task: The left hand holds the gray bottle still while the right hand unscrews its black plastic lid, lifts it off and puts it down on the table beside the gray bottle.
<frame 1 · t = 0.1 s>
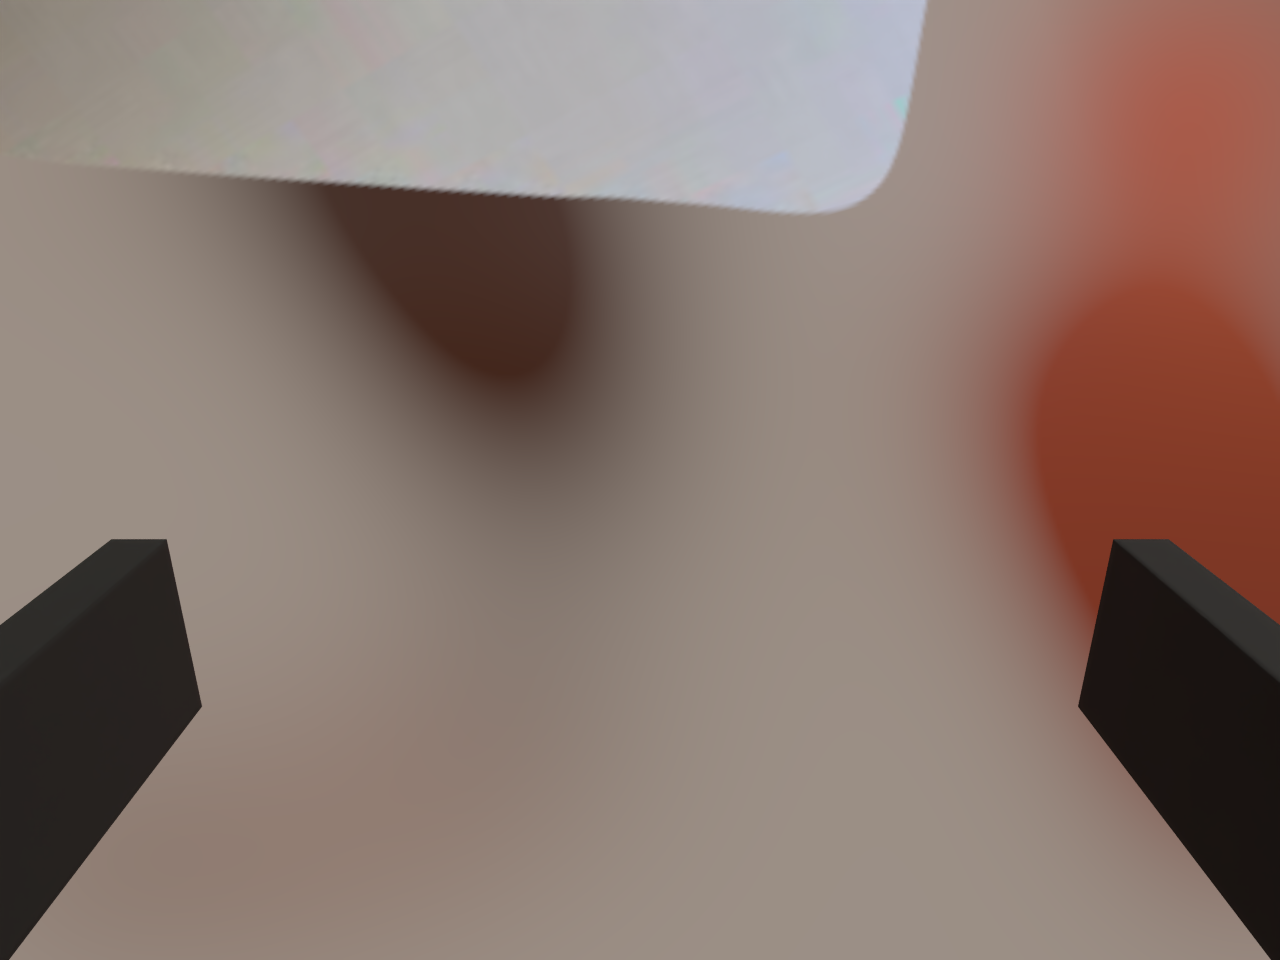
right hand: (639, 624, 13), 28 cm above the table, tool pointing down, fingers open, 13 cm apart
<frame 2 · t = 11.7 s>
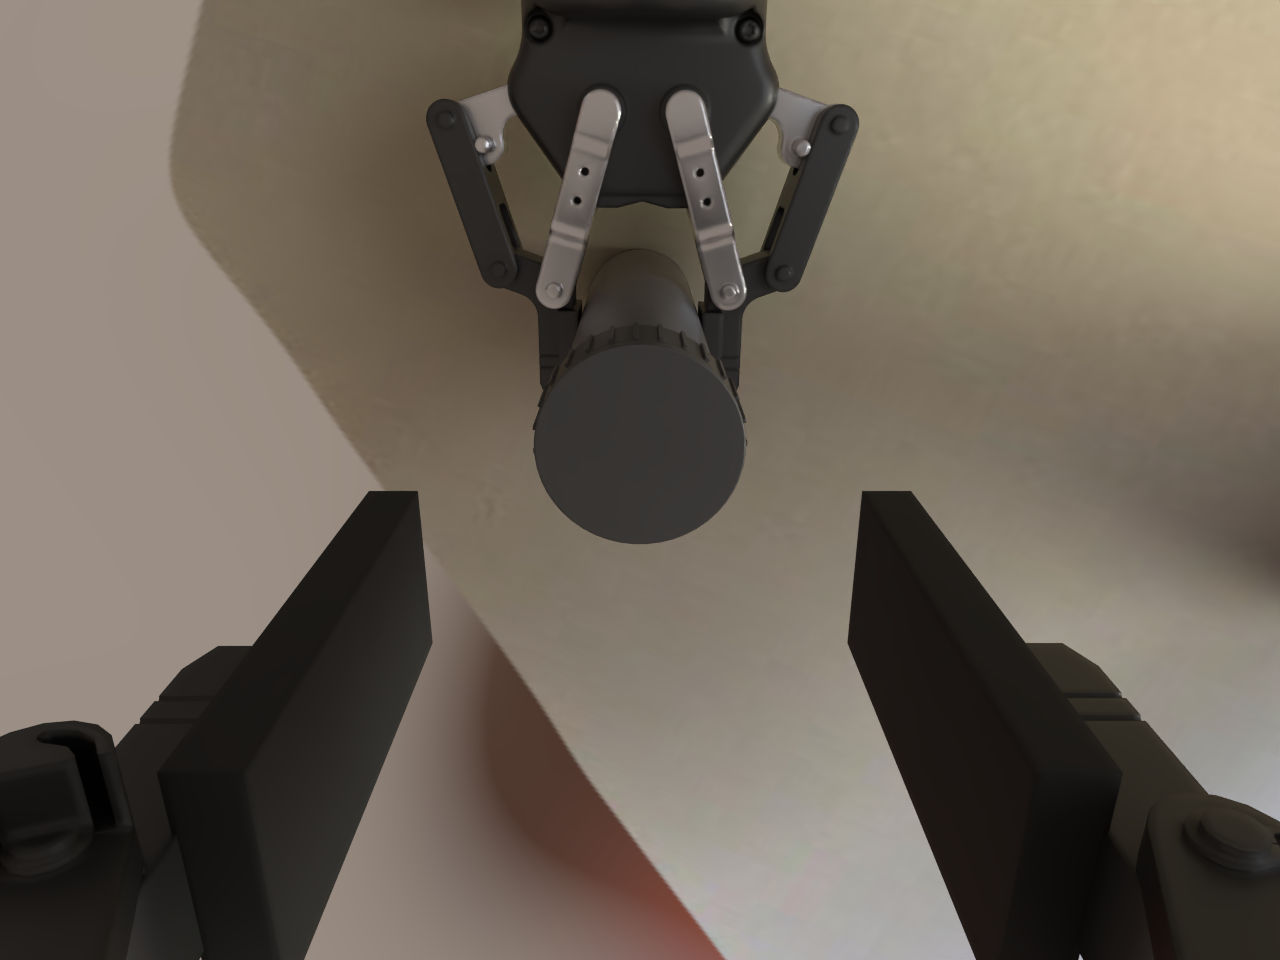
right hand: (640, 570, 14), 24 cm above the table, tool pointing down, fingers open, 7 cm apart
left hand: (640, 406, 32), fingers closed on gray bottle, 4 cm apart
lid: (639, 443, 20), point 18 cm above the table, screwed on, not yet turned
gray bottle: (640, 301, 37), on the table, touching left hand
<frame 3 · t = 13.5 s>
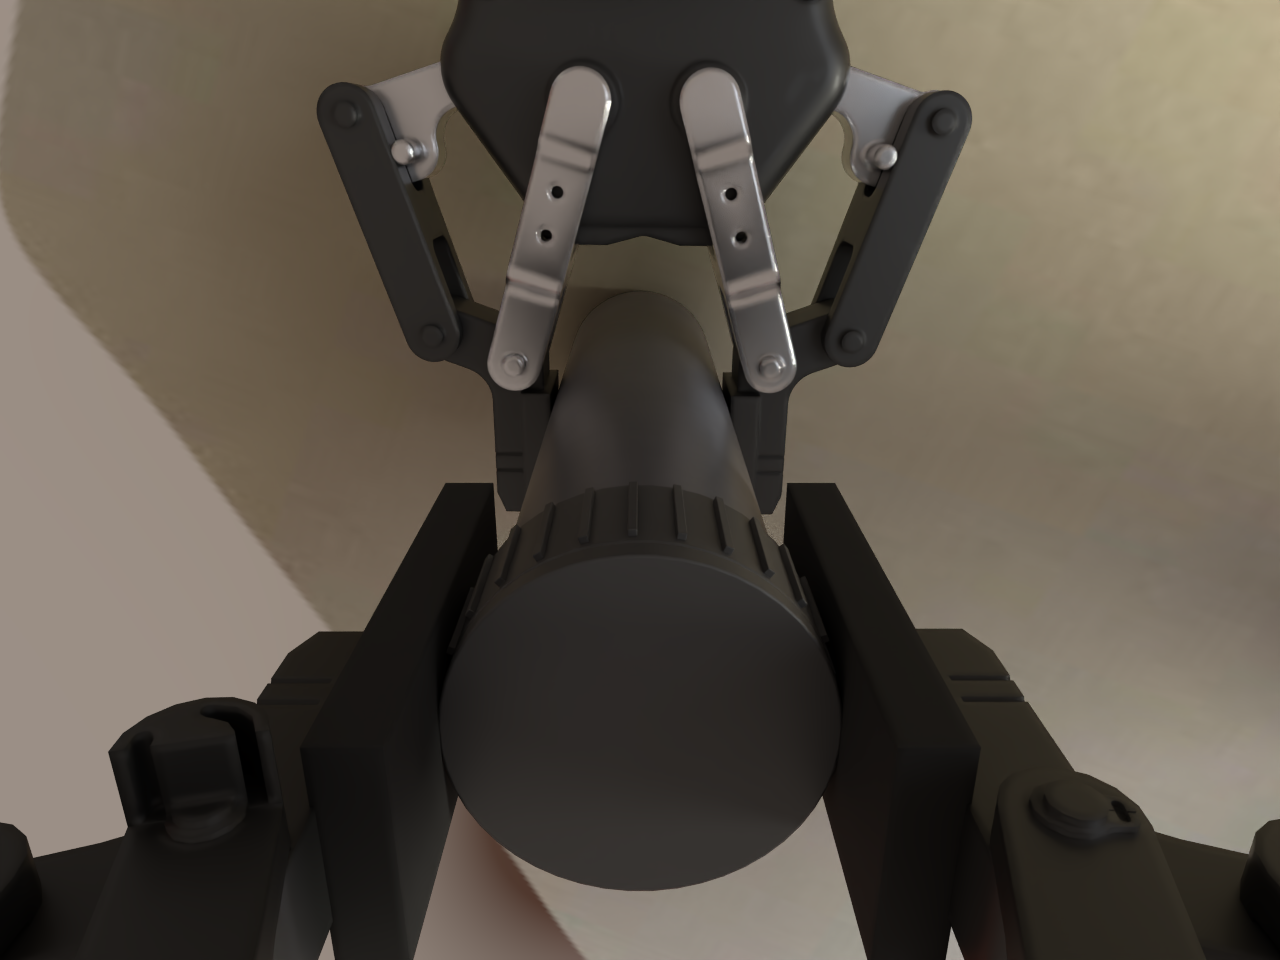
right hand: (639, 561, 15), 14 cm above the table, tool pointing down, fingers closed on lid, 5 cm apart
left hand: (640, 520, 23), fingers closed on gray bottle, 4 cm apart
lid: (640, 719, 11), point 18 cm above the table, screwed on, not yet turned, touching right hand
gray bottle: (640, 359, 27), on the table, touching left hand
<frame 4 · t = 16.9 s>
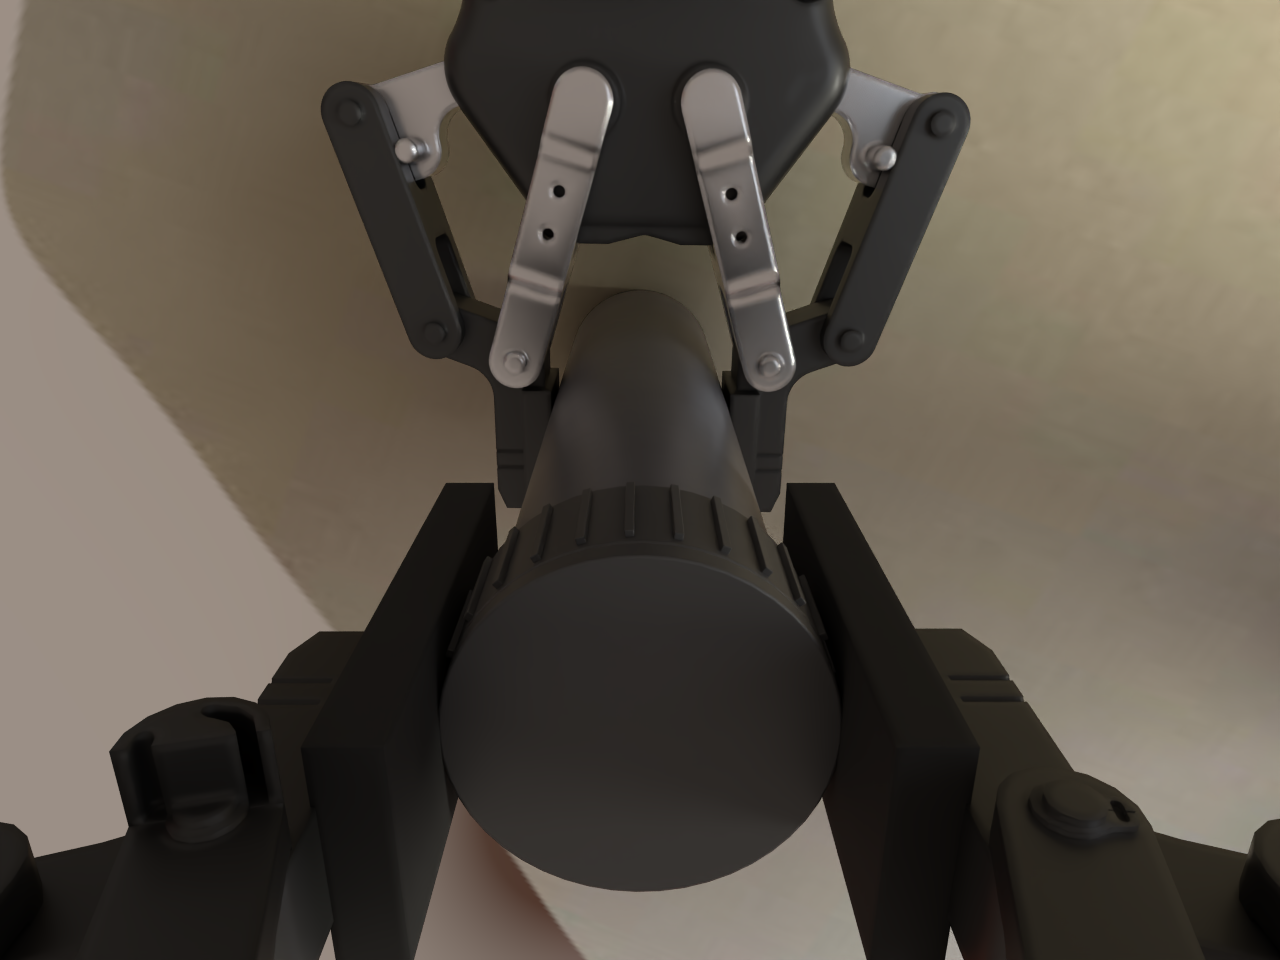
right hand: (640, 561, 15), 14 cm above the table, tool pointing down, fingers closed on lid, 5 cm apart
left hand: (639, 517, 23), fingers closed on gray bottle, 4 cm apart
lid: (640, 719, 11), point 18 cm above the table, turned 108° so far, risen 0.2 cm, still on its thread, touching right hand
gray bottle: (640, 358, 28), on the table, touching left hand
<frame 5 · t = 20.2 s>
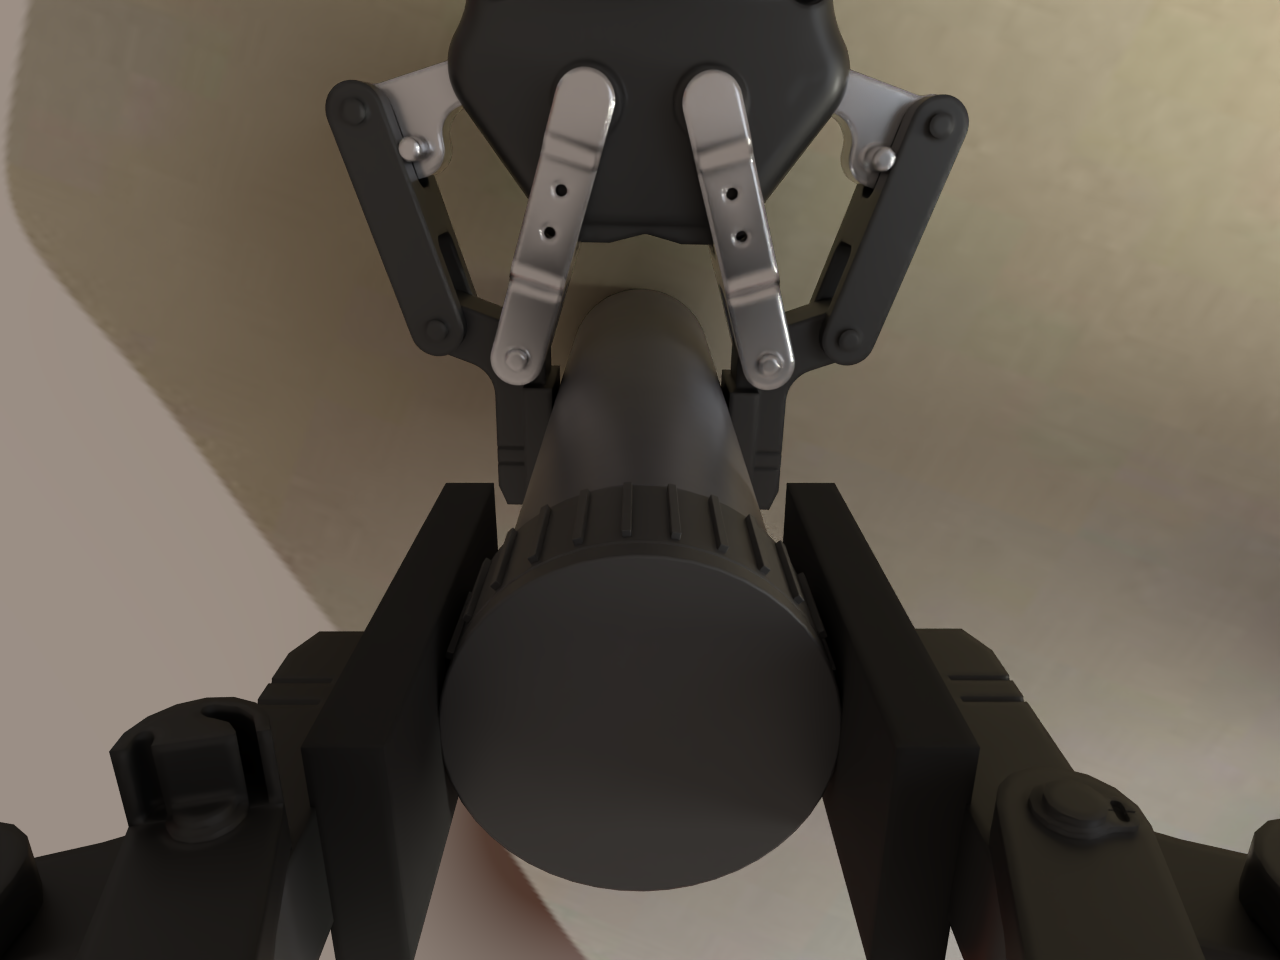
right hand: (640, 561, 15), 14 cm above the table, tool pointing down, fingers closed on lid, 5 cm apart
left hand: (639, 514, 23), fingers closed on gray bottle, 4 cm apart
lid: (640, 719, 11), point 18 cm above the table, turned 216° so far, risen 0.4 cm, still on its thread, touching right hand
gray bottle: (640, 356, 28), on the table, touching left hand
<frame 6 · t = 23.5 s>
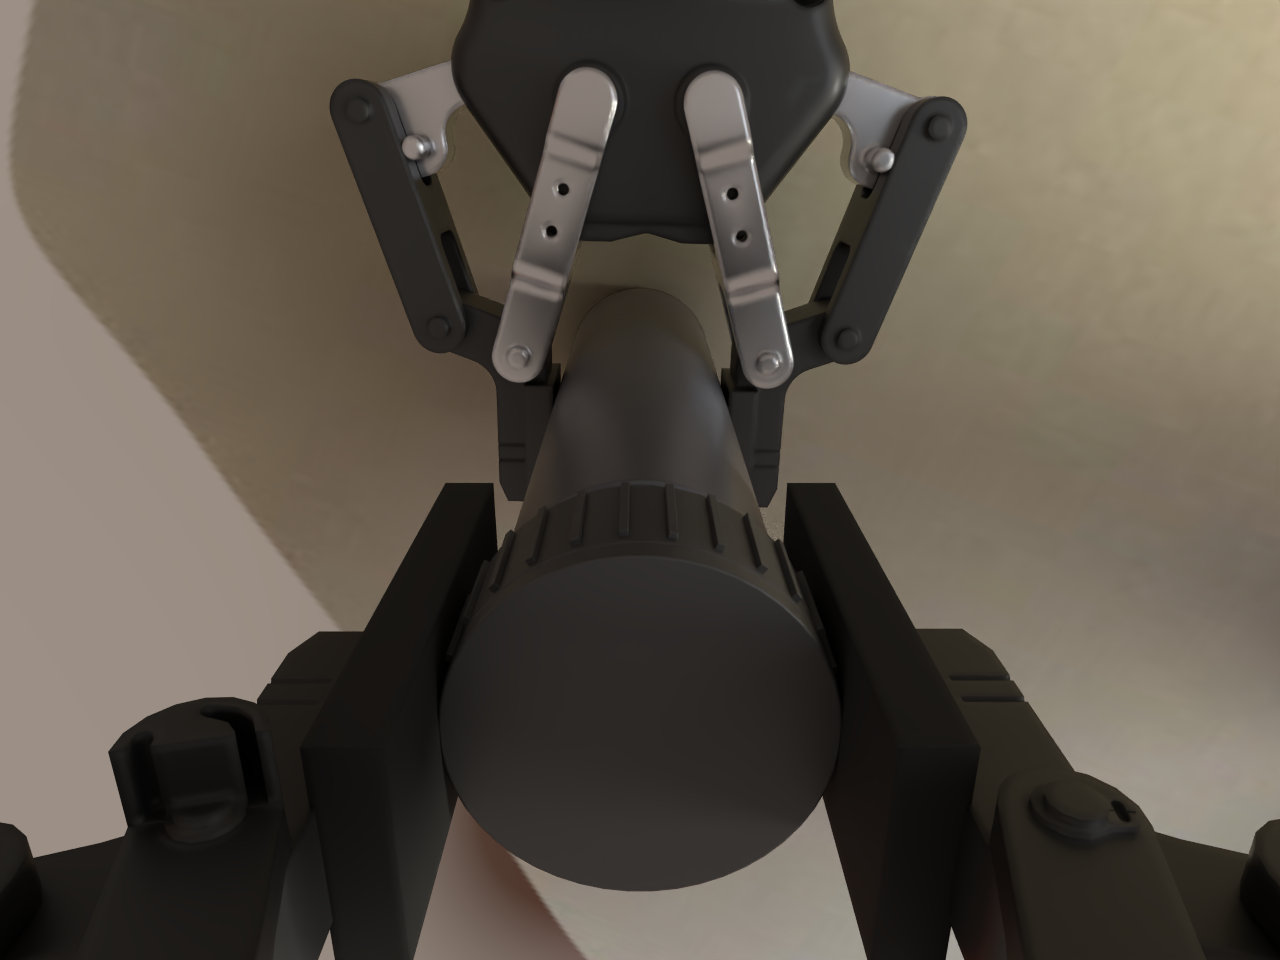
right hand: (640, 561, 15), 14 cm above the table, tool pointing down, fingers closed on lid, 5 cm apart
left hand: (638, 511, 23), fingers closed on gray bottle, 4 cm apart
lid: (640, 719, 11), point 19 cm above the table, turned 323° so far, risen 0.5 cm, still on its thread, touching right hand
gray bottle: (640, 355, 28), on the table, touching left hand
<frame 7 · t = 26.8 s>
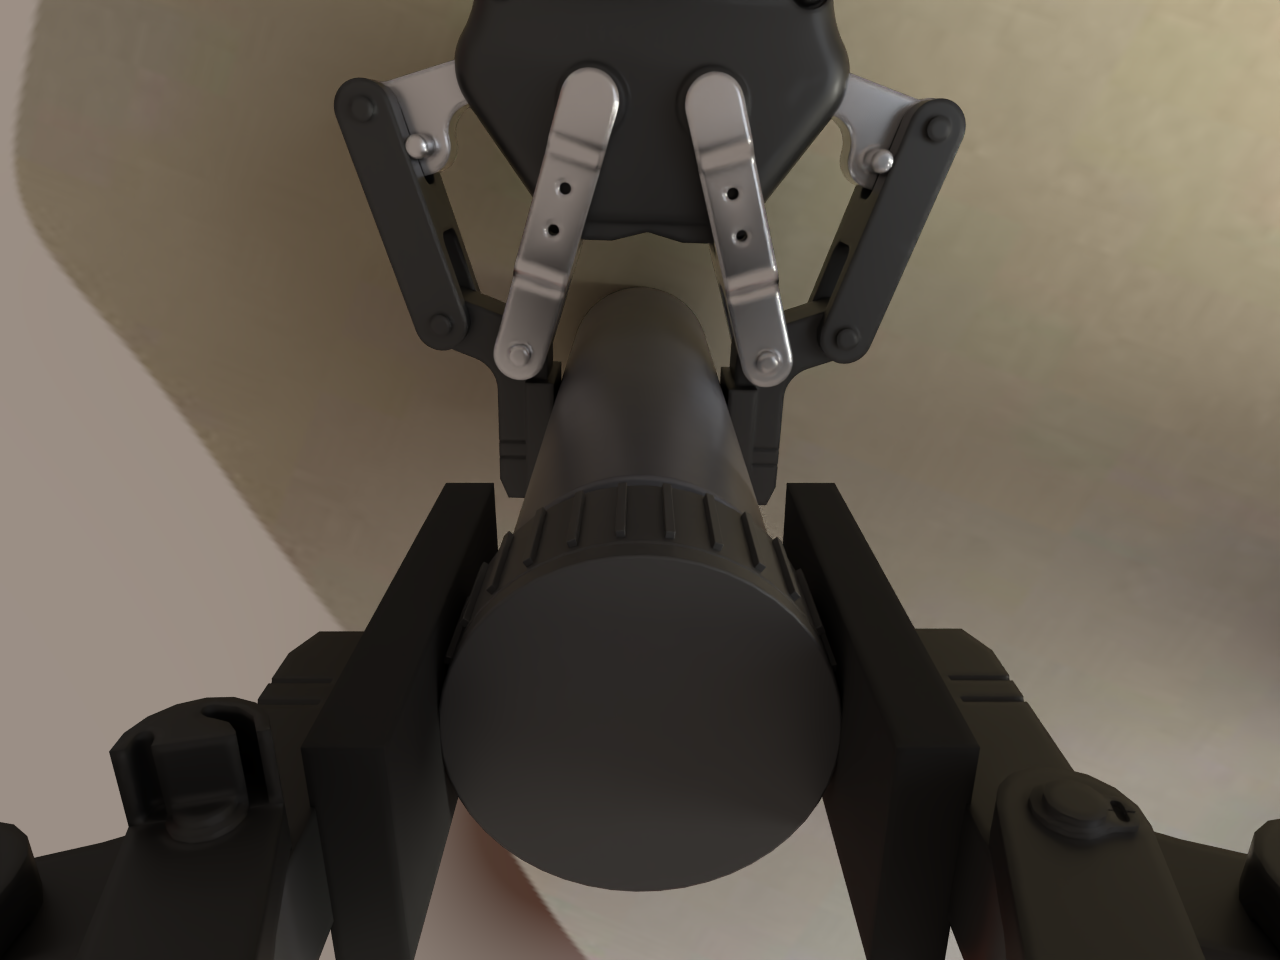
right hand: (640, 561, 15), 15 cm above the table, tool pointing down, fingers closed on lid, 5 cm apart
left hand: (638, 508, 24), fingers closed on gray bottle, 4 cm apart
lid: (640, 719, 11), point 19 cm above the table, turned 431° so far, risen 0.7 cm, still on its thread, touching right hand
gray bottle: (640, 353, 28), on the table, touching left hand
when the right hand's fingers open (0 cm above the table, at t = 33.7 s): lid drops 3 cm, point 2 cm above the table.
when the left hand's fingers open (6 cm above the table, at t = 34.3 s): gray bottle stays where it is, on the table.
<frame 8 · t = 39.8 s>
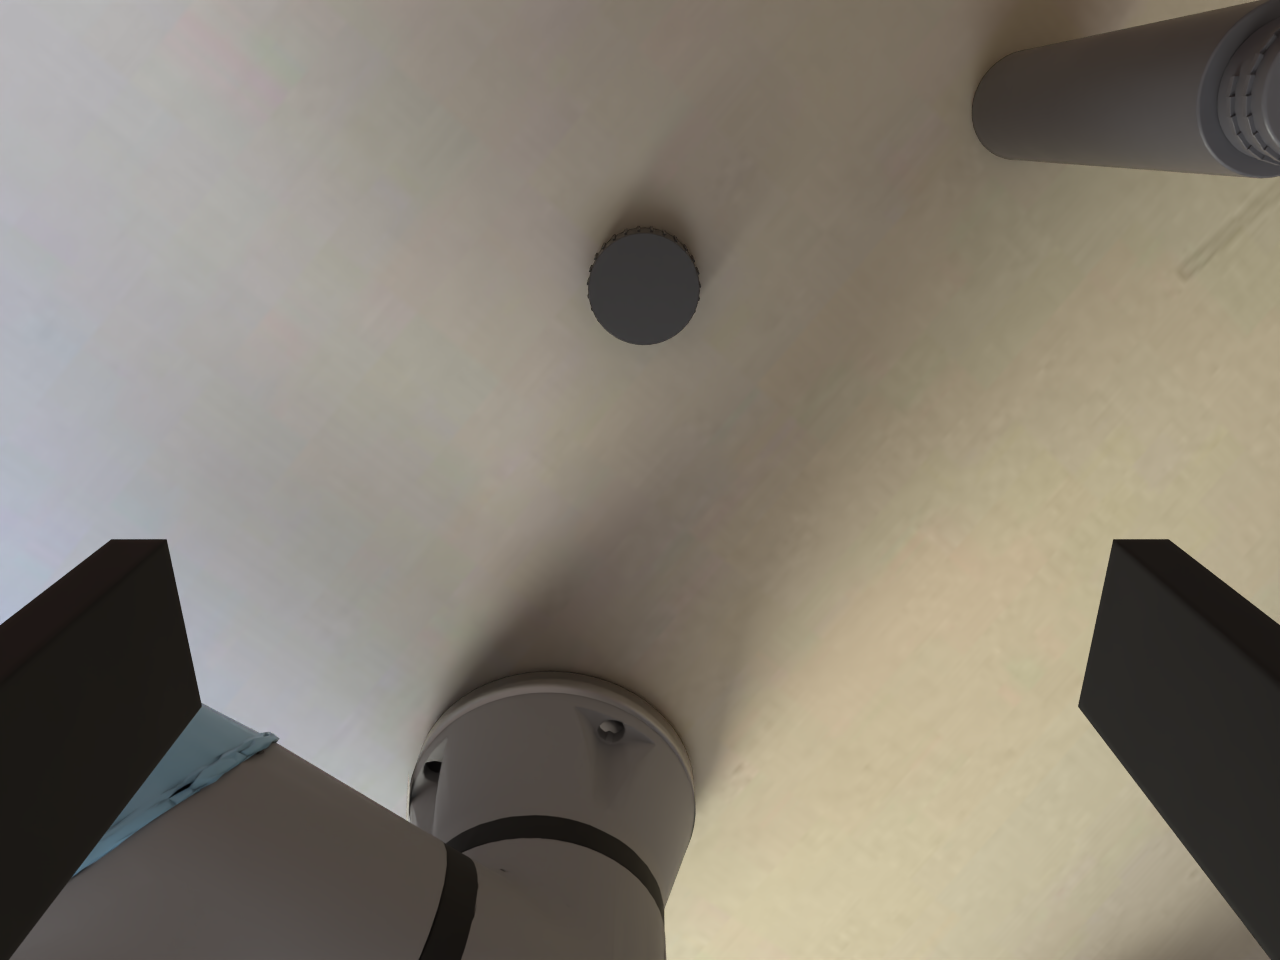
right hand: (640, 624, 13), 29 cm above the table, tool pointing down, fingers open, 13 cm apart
lid: (643, 288, 38), point 2 cm above the table, off its thread
gray bottle: (1022, 105, 37), on the table
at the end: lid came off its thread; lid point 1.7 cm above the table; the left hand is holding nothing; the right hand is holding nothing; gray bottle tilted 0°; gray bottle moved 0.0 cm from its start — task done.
